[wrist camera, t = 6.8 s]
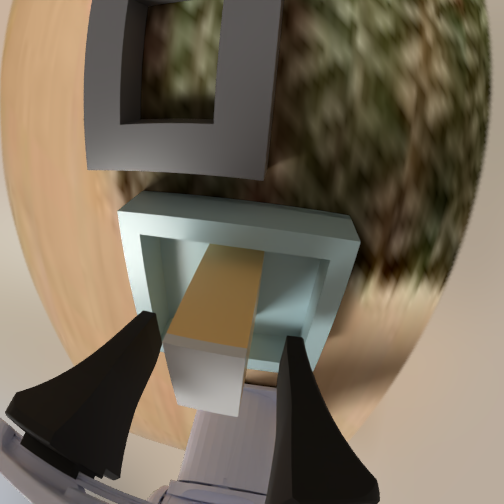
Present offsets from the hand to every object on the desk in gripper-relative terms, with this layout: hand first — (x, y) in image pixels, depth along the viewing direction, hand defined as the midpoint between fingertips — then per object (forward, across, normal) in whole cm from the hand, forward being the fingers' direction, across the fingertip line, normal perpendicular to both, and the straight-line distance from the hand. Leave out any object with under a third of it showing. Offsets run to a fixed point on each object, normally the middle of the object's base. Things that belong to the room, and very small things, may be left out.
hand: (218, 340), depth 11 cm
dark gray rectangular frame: (+4, +3, -11) cm, 12 cm away
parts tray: (+4, 0, 0) cm, 4 cm away
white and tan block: (+4, 0, 0) cm, 4 cm away
